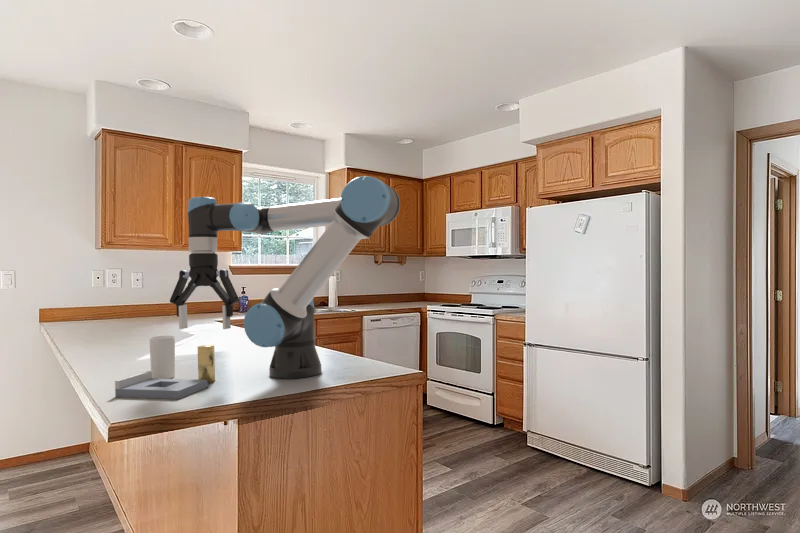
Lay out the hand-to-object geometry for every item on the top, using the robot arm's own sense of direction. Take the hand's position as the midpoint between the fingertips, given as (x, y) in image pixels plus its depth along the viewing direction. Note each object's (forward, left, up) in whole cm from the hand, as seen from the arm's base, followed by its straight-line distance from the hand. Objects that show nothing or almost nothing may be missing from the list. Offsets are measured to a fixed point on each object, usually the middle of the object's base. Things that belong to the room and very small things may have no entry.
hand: (204, 328), depth 143 cm
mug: (+17, -5, -15) cm, 23 cm away
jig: (+5, +12, -15) cm, 20 cm away
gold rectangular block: (0, 0, -15) cm, 15 cm away
